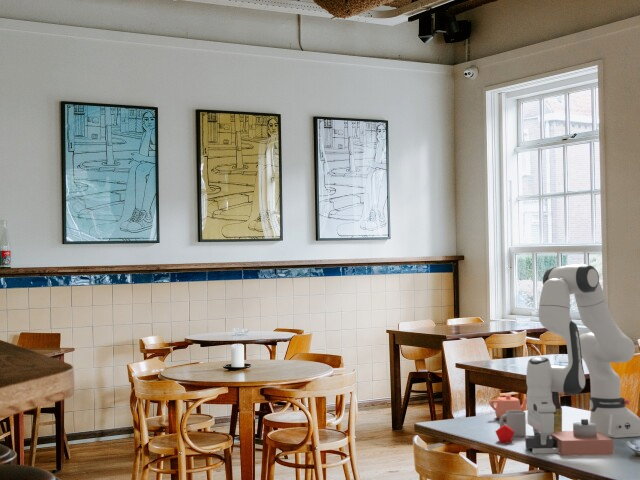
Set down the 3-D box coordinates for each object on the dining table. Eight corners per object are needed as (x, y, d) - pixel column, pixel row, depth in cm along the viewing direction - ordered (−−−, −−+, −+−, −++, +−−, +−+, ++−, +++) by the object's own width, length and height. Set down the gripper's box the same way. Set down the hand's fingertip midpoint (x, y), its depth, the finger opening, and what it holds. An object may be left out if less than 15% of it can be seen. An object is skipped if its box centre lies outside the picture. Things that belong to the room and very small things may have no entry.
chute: (526, 448, 291) (526, 434, 291) (525, 445, 295) (525, 432, 296) (552, 448, 289) (552, 435, 289) (551, 445, 294) (550, 432, 294)
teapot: (486, 417, 357) (486, 393, 357) (527, 416, 357) (527, 392, 357) (492, 422, 345) (492, 397, 345) (535, 421, 345) (534, 396, 346)
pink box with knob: (596, 444, 301) (595, 415, 301) (613, 454, 285) (612, 423, 285) (523, 445, 300) (523, 416, 300) (536, 455, 284) (535, 424, 284)
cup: (525, 437, 314) (525, 414, 314) (499, 436, 317) (498, 413, 317) (526, 433, 321) (525, 410, 321) (500, 432, 324) (499, 409, 324)
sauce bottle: (553, 442, 305) (552, 388, 306) (541, 439, 311) (540, 386, 311) (566, 440, 308) (565, 387, 309) (554, 437, 314) (553, 385, 314)
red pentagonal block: (511, 430, 301) (512, 418, 309) (493, 432, 304) (494, 421, 311) (516, 446, 303) (517, 434, 310) (498, 448, 305) (499, 436, 313)
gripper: (522, 398, 303) (523, 436, 302) (539, 408, 282) (539, 448, 282) (539, 398, 303) (540, 436, 303) (557, 408, 283) (558, 448, 282)
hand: (540, 442), depth 292 cm, fingers closed on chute, 5 cm apart
